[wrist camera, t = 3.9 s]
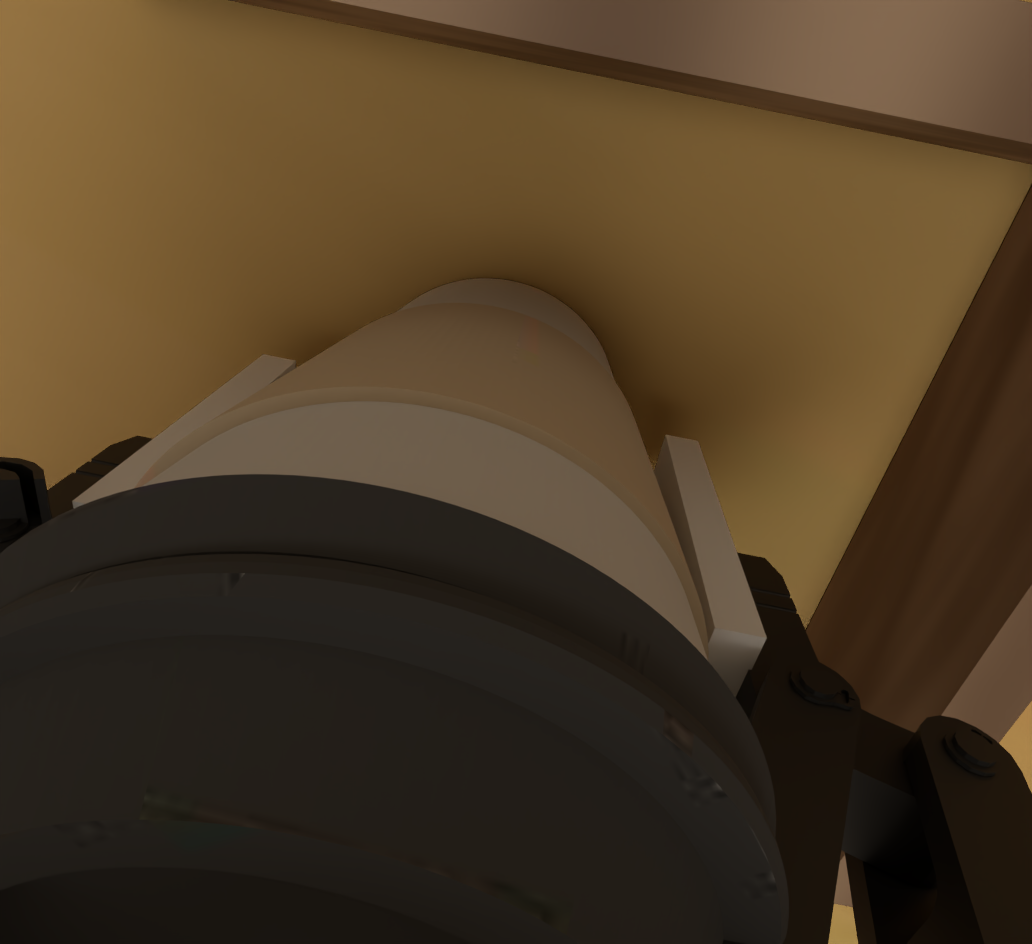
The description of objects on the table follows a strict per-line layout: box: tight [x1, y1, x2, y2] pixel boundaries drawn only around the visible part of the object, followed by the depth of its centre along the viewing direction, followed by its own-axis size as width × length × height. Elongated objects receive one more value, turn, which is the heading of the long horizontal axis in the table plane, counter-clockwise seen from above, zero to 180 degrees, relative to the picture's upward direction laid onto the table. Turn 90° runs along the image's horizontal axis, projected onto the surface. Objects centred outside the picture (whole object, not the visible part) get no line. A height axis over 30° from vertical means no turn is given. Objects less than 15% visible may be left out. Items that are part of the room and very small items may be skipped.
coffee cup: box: [0, 278, 789, 944], centre depth 12 cm, size 9×9×15 cm
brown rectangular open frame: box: [230, 0, 1032, 907], centre depth 16 cm, size 22×19×6 cm
